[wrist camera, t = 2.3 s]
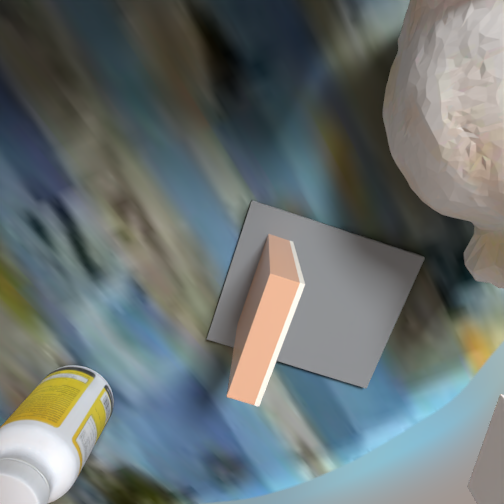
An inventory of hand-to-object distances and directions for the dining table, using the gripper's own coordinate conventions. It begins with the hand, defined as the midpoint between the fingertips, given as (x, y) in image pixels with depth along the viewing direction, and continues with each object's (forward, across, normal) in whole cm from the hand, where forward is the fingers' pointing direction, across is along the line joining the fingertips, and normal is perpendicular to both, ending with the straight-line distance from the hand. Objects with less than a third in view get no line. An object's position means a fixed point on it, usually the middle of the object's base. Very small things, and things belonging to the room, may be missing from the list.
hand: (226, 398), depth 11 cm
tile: (+23, +2, -5) cm, 23 cm away
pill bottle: (+24, -12, -18) cm, 32 cm away
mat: (+23, +6, -5) cm, 25 cm away
